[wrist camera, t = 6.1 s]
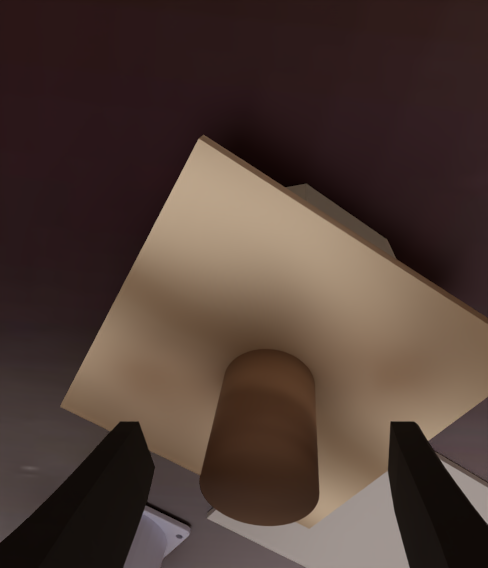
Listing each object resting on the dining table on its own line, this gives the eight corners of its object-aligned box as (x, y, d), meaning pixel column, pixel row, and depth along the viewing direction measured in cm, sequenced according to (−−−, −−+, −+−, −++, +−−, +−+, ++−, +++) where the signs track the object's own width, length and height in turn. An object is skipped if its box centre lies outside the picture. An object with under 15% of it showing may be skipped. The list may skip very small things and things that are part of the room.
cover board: (309, 515, 19) (311, 640, 15) (67, 395, 17) (-6, 501, 13) (530, 345, 13) (632, 474, 9) (203, 134, 11) (148, 178, 7)
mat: (367, 591, 30) (368, 598, 30) (207, 512, 28) (206, 518, 28) (529, 507, 24) (532, 514, 24) (338, 394, 21) (339, 400, 21)
